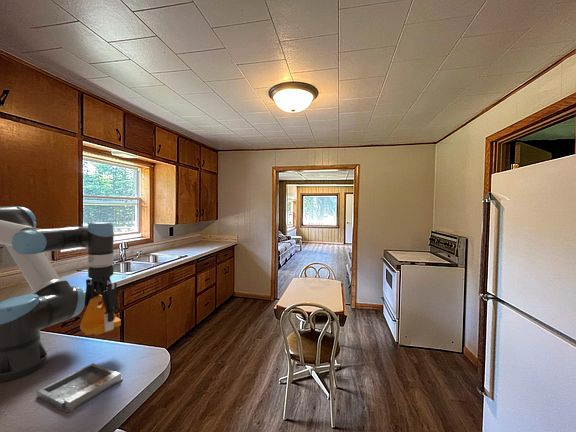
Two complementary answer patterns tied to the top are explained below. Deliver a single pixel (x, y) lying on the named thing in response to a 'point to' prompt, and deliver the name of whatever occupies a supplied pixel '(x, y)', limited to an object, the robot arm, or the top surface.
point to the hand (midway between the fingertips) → (101, 327)
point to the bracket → (96, 318)
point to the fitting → (79, 387)
